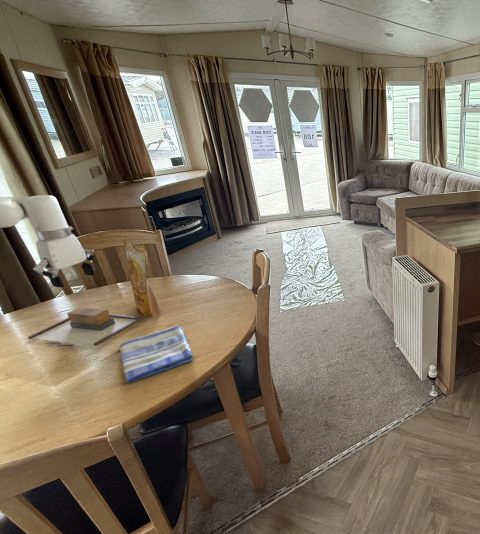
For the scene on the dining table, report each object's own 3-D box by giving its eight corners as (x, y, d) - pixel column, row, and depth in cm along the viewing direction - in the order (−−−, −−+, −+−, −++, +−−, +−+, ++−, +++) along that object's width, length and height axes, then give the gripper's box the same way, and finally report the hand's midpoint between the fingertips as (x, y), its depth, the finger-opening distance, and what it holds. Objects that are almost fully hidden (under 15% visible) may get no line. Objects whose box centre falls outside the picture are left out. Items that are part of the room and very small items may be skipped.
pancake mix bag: (154, 299, 143) (131, 236, 131) (168, 315, 132) (146, 248, 121) (133, 305, 138) (108, 240, 126) (147, 322, 127) (121, 253, 116)
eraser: (71, 327, 121) (64, 313, 118) (86, 320, 125) (80, 306, 123) (101, 330, 120) (94, 316, 117) (115, 323, 124) (109, 309, 122)
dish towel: (183, 329, 124) (180, 322, 123) (196, 360, 108) (193, 353, 107) (120, 348, 113) (117, 341, 112) (125, 386, 97) (121, 379, 96)
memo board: (29, 340, 115) (27, 336, 114) (83, 314, 131) (81, 311, 130) (97, 348, 113) (95, 344, 112) (144, 320, 128) (142, 317, 127)
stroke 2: (59, 347, 112) (57, 348, 112) (58, 344, 112) (56, 346, 111) (75, 346, 113) (73, 348, 112) (74, 344, 112) (72, 345, 112)
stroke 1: (50, 344, 114) (47, 345, 113) (49, 341, 113) (46, 343, 113) (64, 345, 114) (61, 346, 113) (63, 342, 113) (60, 344, 112)
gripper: (73, 225, 119) (91, 269, 126) (10, 241, 103) (35, 291, 110) (92, 227, 118) (109, 271, 125) (32, 243, 102) (56, 292, 109)
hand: (75, 280), depth 118 cm, fingers open, 9 cm apart
